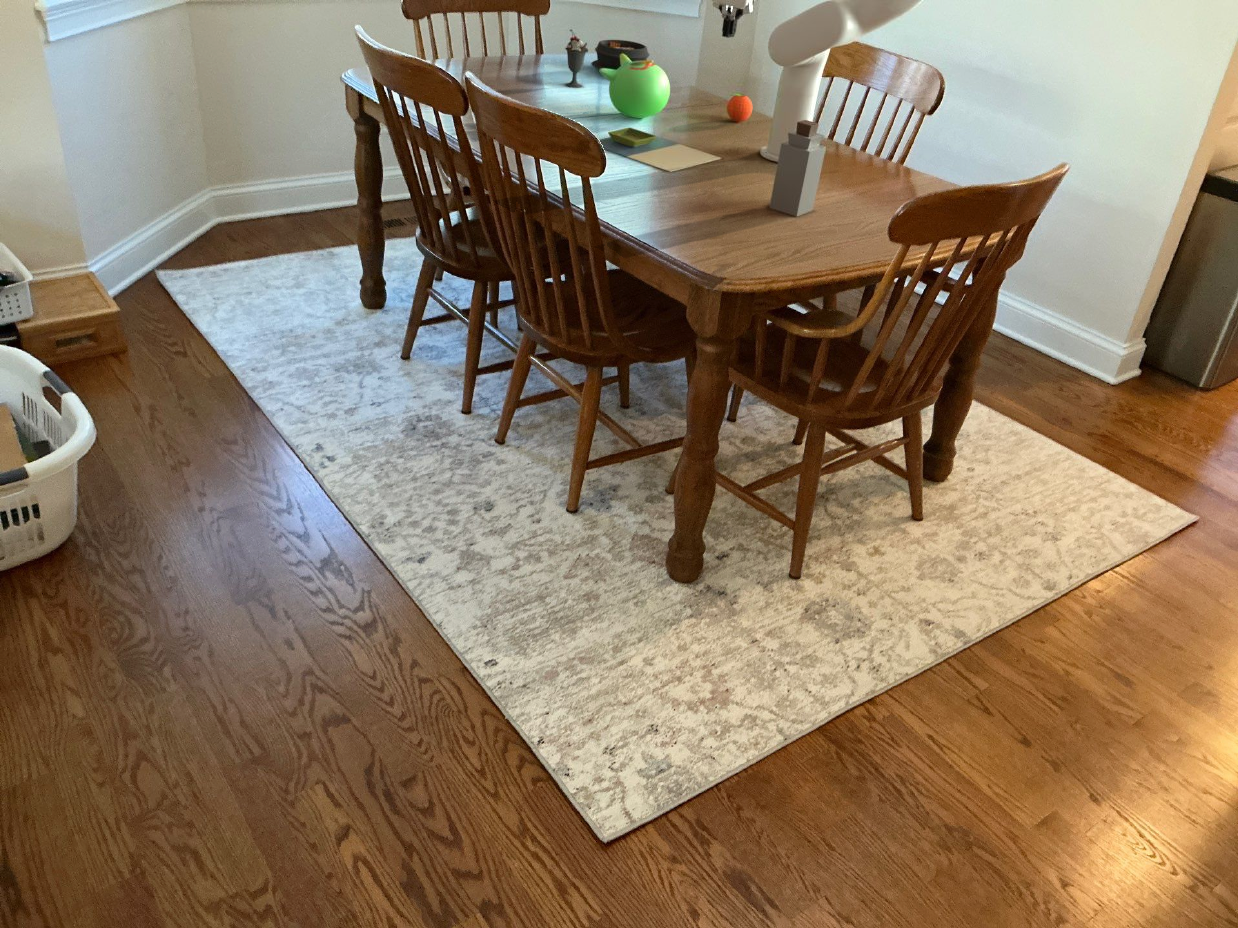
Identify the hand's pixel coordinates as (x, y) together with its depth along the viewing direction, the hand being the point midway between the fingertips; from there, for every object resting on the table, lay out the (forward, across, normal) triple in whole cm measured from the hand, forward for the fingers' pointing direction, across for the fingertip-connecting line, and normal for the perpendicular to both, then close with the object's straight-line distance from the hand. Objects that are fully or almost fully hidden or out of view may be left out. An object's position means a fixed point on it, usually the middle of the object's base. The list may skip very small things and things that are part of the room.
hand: (728, 36), depth 240 cm
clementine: (+24, -6, +20) cm, 32 cm away
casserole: (+24, -59, +36) cm, 73 cm away
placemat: (+24, -1, -25) cm, 35 cm away
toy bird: (+24, -24, -2) cm, 34 cm away
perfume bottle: (+24, +43, -34) cm, 60 cm away
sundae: (+24, -55, +9) cm, 61 cm away
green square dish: (+24, -8, -25) cm, 35 cm away
